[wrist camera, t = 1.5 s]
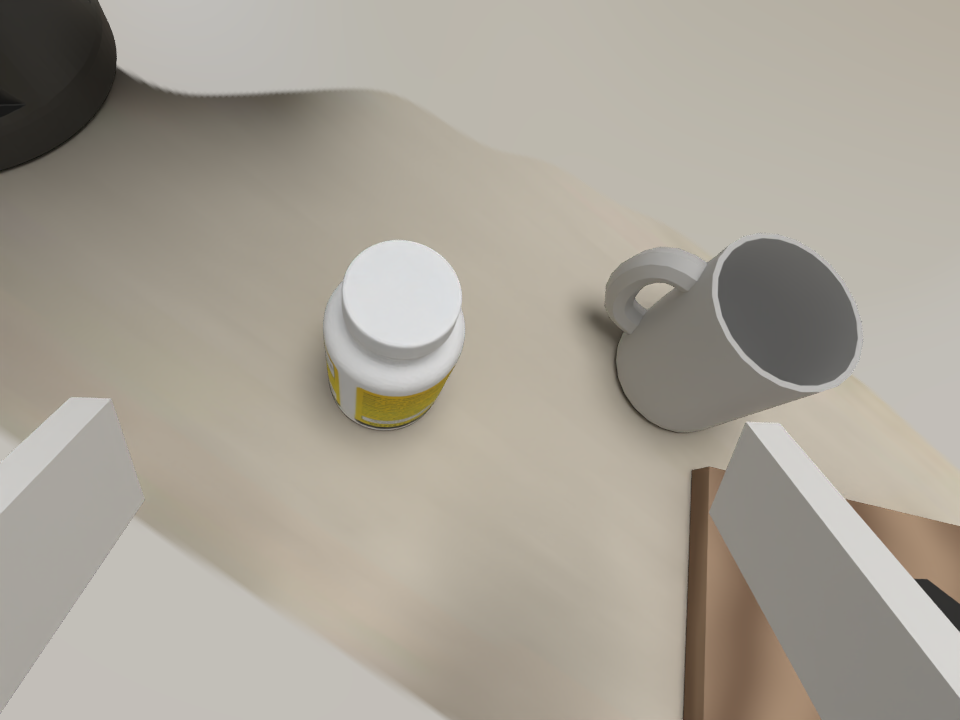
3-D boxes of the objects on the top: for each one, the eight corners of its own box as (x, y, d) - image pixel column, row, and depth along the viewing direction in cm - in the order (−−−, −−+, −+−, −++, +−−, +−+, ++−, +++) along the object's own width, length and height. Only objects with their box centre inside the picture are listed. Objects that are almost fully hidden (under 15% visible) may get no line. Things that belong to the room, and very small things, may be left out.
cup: (697, 461, 29) (835, 428, 21) (548, 353, 29) (626, 278, 21) (744, 361, 32) (881, 298, 24) (607, 263, 32) (697, 166, 24)
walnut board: (683, 730, 24) (703, 741, 23) (692, 470, 29) (709, 466, 27) (970, 774, 27) (1003, 786, 25) (938, 528, 31) (966, 527, 30)
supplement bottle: (460, 378, 27) (515, 297, 18) (385, 455, 25) (405, 406, 16) (385, 307, 28) (401, 193, 19) (304, 377, 26) (280, 287, 17)
